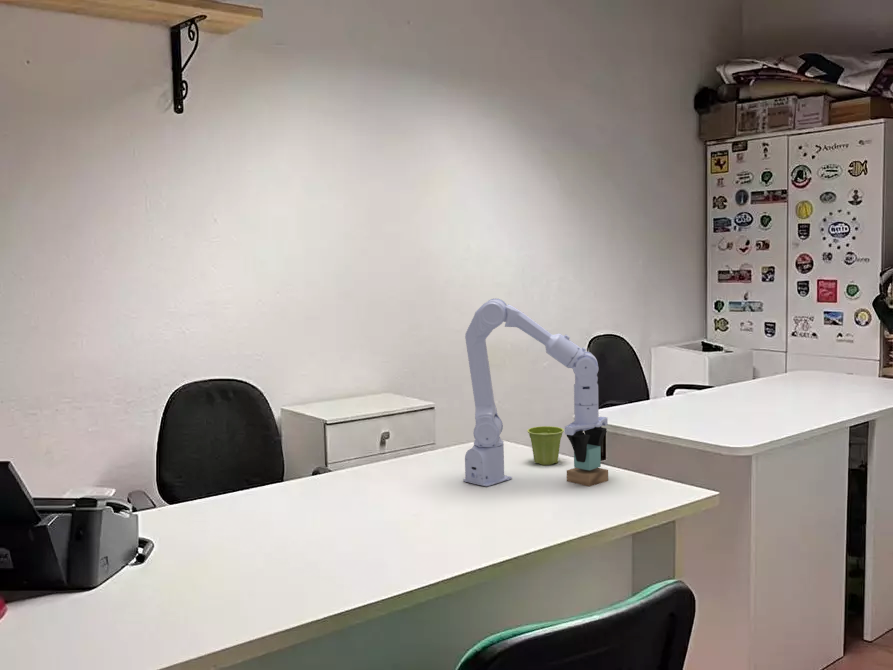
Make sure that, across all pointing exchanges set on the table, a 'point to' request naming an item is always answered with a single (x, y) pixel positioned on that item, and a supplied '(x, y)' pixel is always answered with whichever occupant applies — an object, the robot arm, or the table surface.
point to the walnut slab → (587, 476)
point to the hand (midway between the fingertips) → (587, 459)
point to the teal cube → (590, 458)
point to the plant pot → (545, 443)
